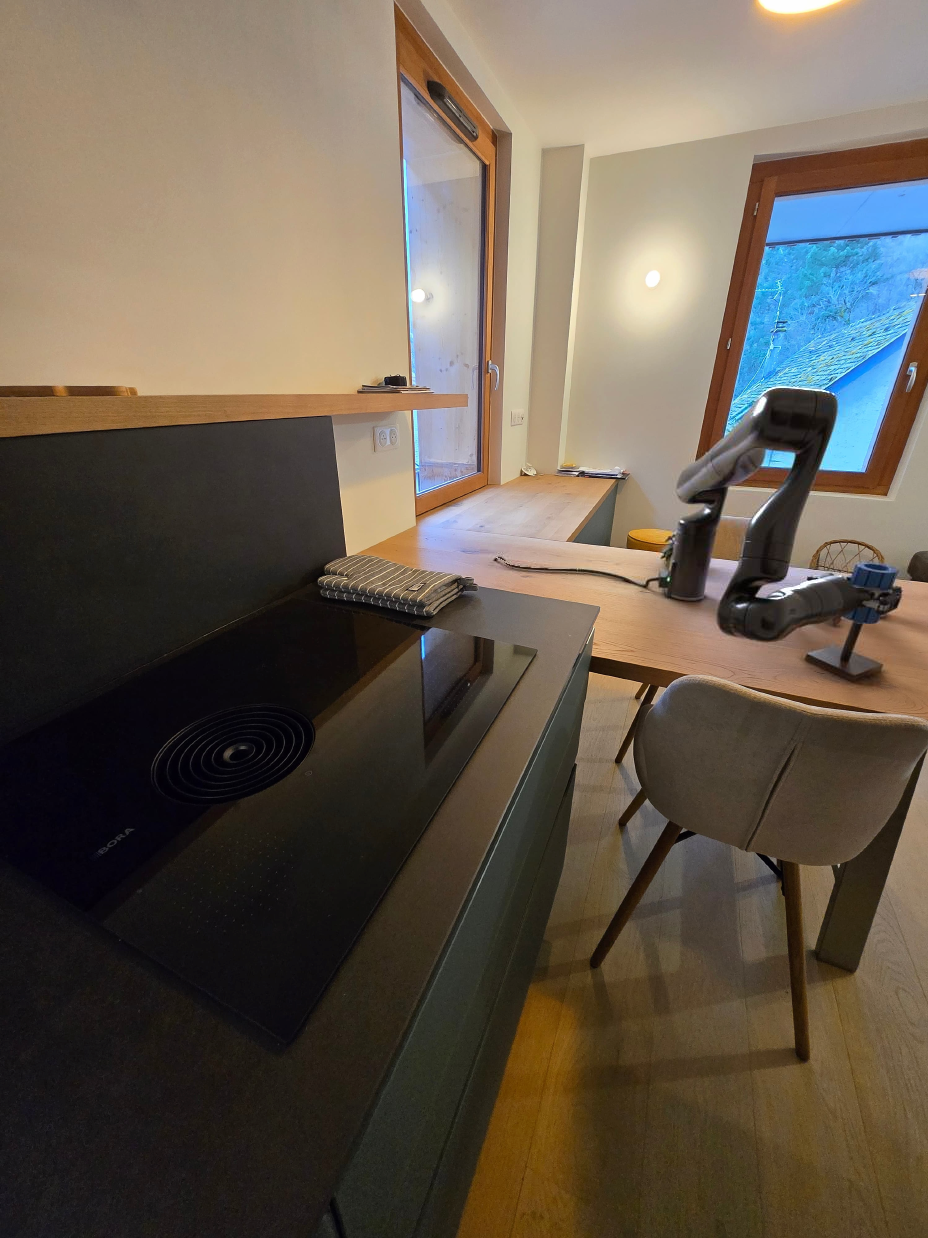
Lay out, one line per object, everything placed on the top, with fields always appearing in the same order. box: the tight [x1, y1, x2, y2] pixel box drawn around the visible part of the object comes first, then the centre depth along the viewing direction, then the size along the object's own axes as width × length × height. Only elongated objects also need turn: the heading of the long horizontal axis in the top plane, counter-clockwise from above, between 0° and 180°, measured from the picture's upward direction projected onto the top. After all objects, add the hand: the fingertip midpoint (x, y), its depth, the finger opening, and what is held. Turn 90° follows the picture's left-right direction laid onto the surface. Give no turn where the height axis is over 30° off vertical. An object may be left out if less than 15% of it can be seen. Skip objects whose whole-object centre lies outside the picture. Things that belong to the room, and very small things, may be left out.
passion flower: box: [659, 533, 676, 570], centre depth 151 cm, size 11×11×12 cm
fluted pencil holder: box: [842, 561, 899, 625], centre depth 91 cm, size 6×6×10 cm
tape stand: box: [804, 621, 884, 682], centre depth 95 cm, size 9×9×10 cm
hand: (876, 585), depth 91 cm, fingers closed on fluted pencil holder, 6 cm apart
